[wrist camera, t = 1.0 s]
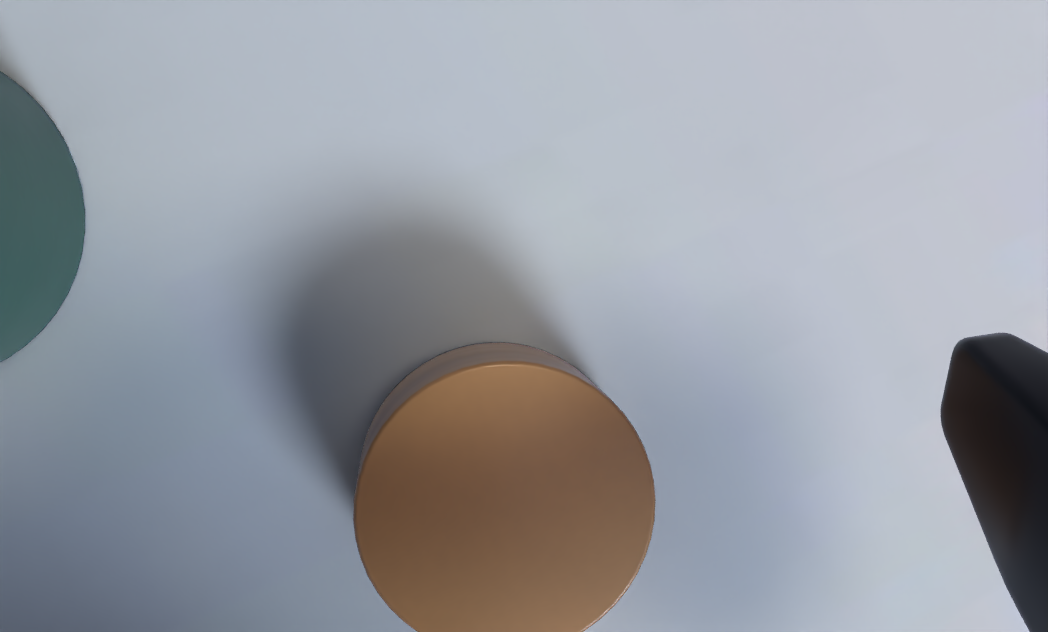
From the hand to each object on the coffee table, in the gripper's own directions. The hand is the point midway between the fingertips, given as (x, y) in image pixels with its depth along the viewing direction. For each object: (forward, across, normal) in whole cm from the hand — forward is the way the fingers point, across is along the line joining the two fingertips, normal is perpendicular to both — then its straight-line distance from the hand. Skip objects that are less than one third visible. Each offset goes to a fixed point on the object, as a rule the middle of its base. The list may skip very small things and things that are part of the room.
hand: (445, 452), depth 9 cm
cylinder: (+8, 0, +9) cm, 12 cm away
